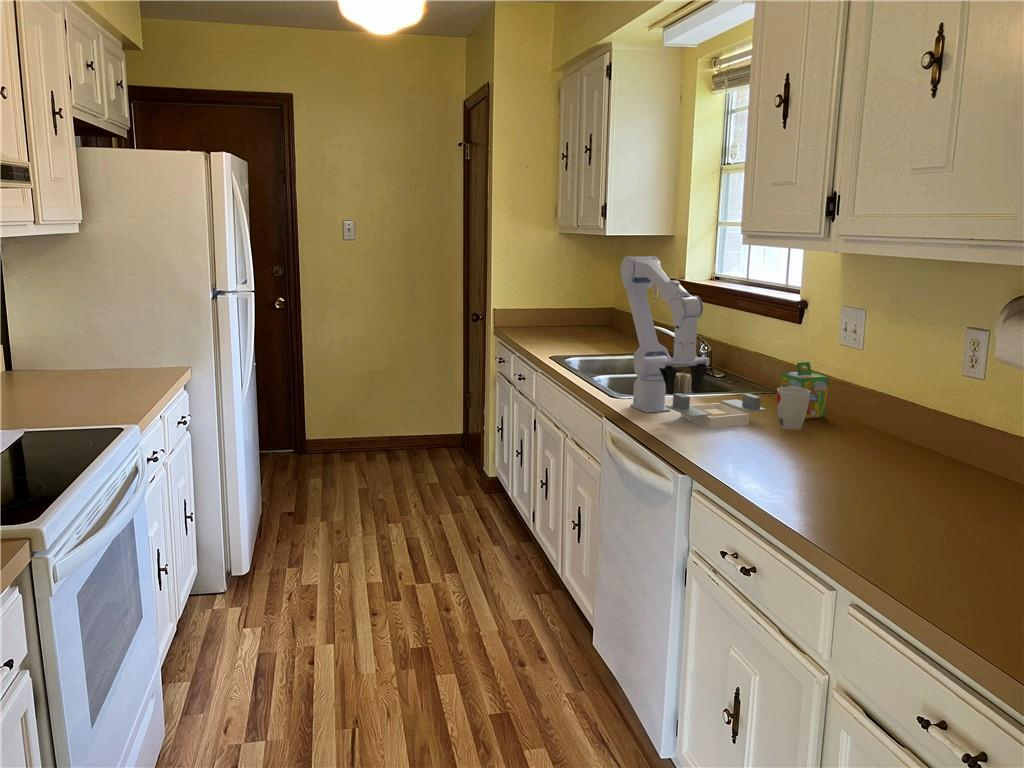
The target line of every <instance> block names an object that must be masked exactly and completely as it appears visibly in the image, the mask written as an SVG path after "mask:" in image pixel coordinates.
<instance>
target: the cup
mask: <svg viewBox="0 0 1024 768" xmlns="http://www.w3.org/2000/svg"><path fill="white" fill-rule="evenodd" d="M776 390H777V392H776V397H777V398H776V407H777V409H776V410H777V417H778V421H779V425H780V428H781V427H782V429H785V430H793V431H795V430H796V431H797V430H801V429H802V427H803V424H804V422H805V420H806V419H805V416H806V413H807V409H808V404H809V397H810V390H808V389H804V388H798V387H781V386H780V387H777V389H776Z"/></svg>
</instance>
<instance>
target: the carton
mask: <svg viewBox="0 0 1024 768" xmlns="http://www.w3.org/2000/svg"><path fill="white" fill-rule="evenodd" d="M690 407H693V408H695V409H698V410H701V411H703V412H706V413H708V414H710V416H699V417H689V416H687V415H684V414H682V413H680V418H683V417H684V418H683V419H685V418H686V420H688V419H689V421H690V420H691V421H690V422H692V421H693V422H692V423H695V424H697V423H698V425H700V426H702V425H703V426H702V427H705V426H706V427H705V428H707V427H708V428H707V429H709V428H715V429H721V428H720V427H725V428H732V427H733V426H735V427H742V426H743V427H745V426H750V419H751V418H750V413H749V412H746V411H744V410H741V409H738V408H735V407H732V406H730V405H727V404H724V403H721V402H712V403H702V404H701V403H700V404H690ZM744 425H745V426H744ZM733 428H734V427H733Z"/></svg>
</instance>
